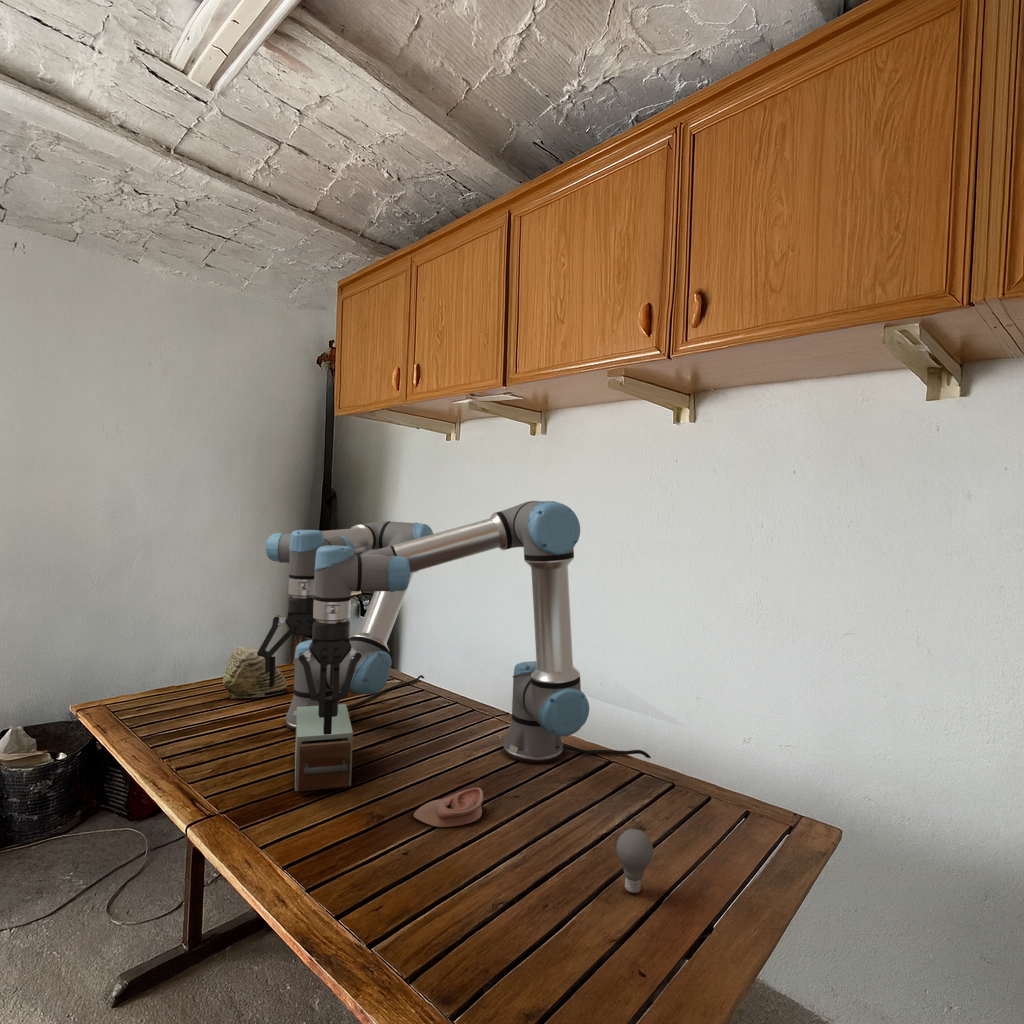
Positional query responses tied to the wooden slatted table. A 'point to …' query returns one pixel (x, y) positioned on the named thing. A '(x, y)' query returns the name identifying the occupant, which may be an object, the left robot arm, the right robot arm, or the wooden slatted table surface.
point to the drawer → (324, 764)
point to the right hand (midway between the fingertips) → (327, 731)
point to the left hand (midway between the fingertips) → (302, 685)
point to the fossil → (250, 675)
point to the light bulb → (634, 857)
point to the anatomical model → (452, 809)
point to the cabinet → (320, 730)
